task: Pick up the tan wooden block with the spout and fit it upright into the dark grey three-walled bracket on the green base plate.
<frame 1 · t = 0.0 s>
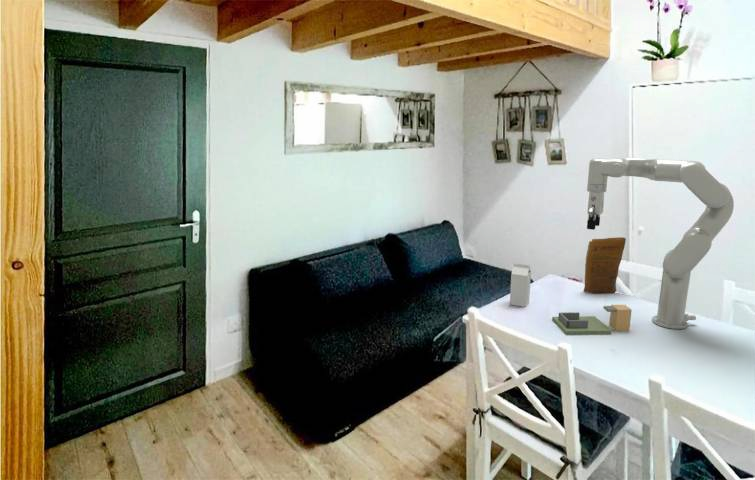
hand: (593, 227, 208), 37 cm above the table, tool pointing down, fingers open, 9 cm apart
milk carton: (519, 304, 223), on the table
tan wooden block: (619, 328, 195), on the table
green base plate: (580, 326, 196), on the table
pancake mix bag: (600, 292, 238), on the table
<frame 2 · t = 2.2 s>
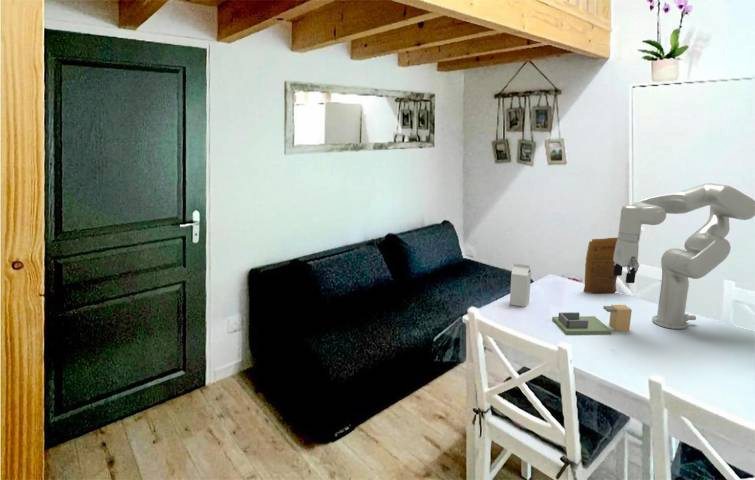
hand: (623, 279, 190), 21 cm above the table, tool pointing down, fingers open, 9 cm apart
nothing on the table moved.
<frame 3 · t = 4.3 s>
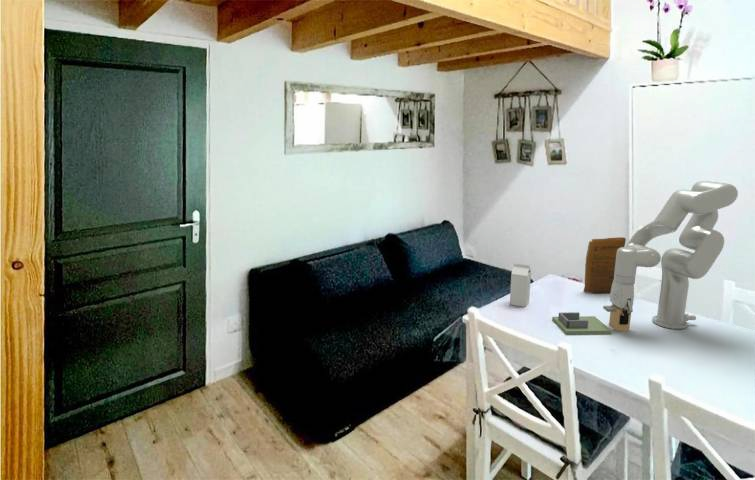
hand: (619, 320, 194), 3 cm above the table, tool pointing down, fingers closed on tan wooden block, 5 cm apart
tan wooden block: (618, 327, 195), on the table, touching gripper
everything else where it was.
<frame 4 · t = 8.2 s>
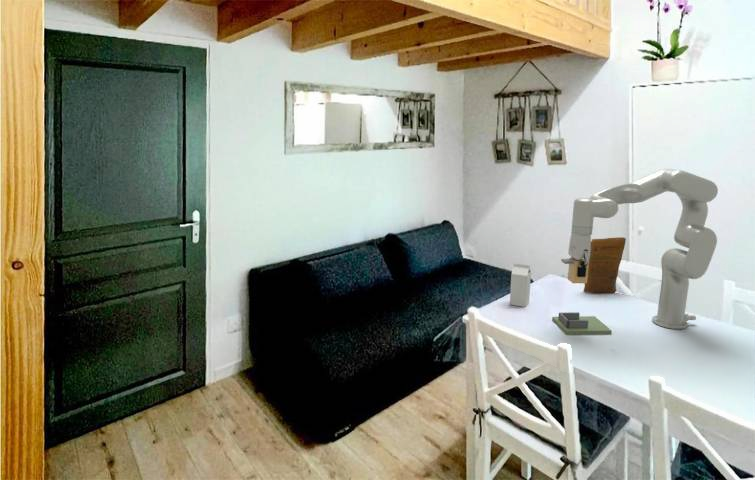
hand: (577, 274, 191), 23 cm above the table, tool pointing down, fingers closed on tan wooden block, 5 cm apart
tan wooden block: (577, 281, 192), point 20 cm above the table, touching gripper
everything else where it was.
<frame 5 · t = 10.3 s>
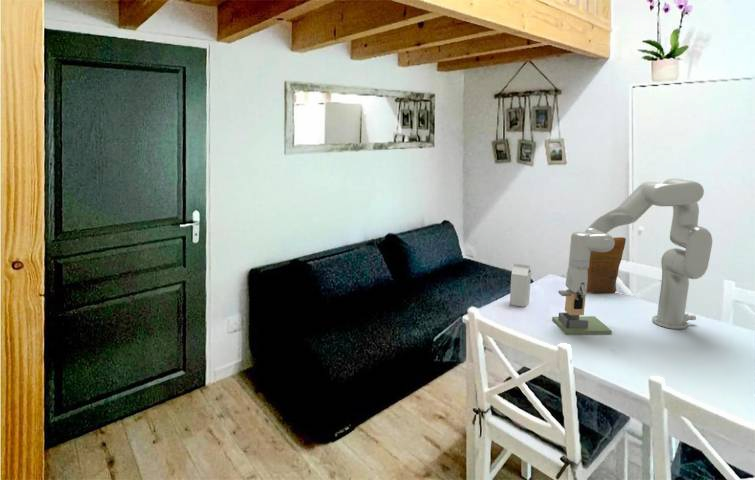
hand: (574, 305, 194), 9 cm above the table, tool pointing down, fingers closed on tan wooden block, 5 cm apart
tan wooden block: (574, 312, 195), point 6 cm above the table, touching gripper
everything else where it was.
when the fingers open (5 cm above the table, at t = 12.0 s): tan wooden block stays where it is, resting on green base plate.
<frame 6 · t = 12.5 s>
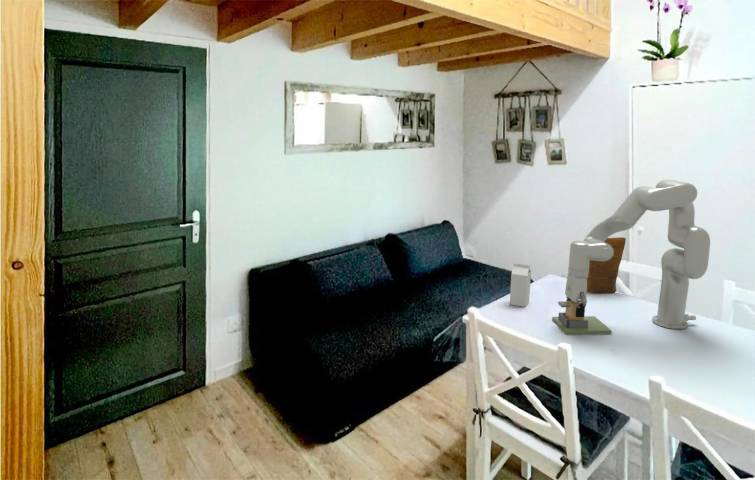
hand: (574, 312, 195), 6 cm above the table, tool pointing down, fingers open, 9 cm apart
tan wooden block: (573, 323, 196), point 1 cm above the table, touching green base plate
everything else where it was.
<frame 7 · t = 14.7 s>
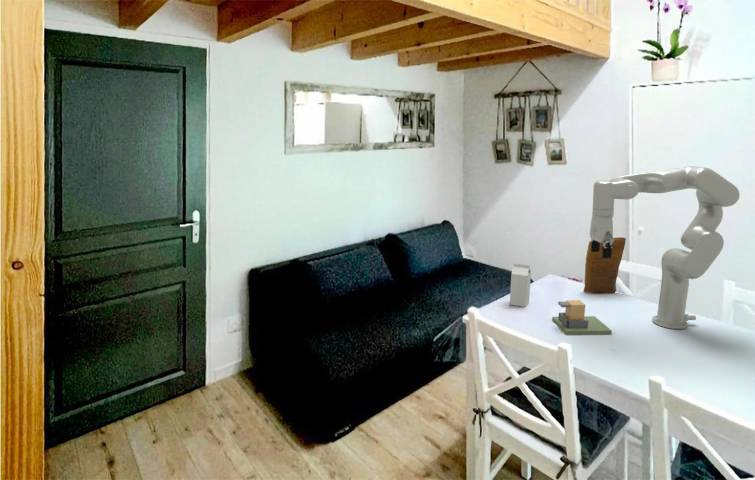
hand: (600, 254, 191), 30 cm above the table, tool pointing down, fingers open, 9 cm apart
nothing on the table moved.
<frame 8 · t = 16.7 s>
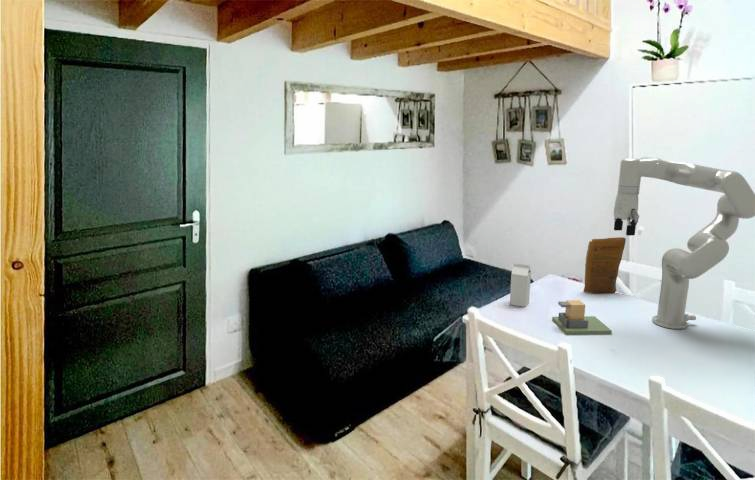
hand: (623, 232, 192), 38 cm above the table, tool pointing down, fingers open, 9 cm apart
nothing on the table moved.
at the end: tan wooden block 0.1 cm from the target spot on the green base plate, point 1.5 cm above the green base plate's base; tan wooden block tilted 0°; the gripper is holding nothing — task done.
